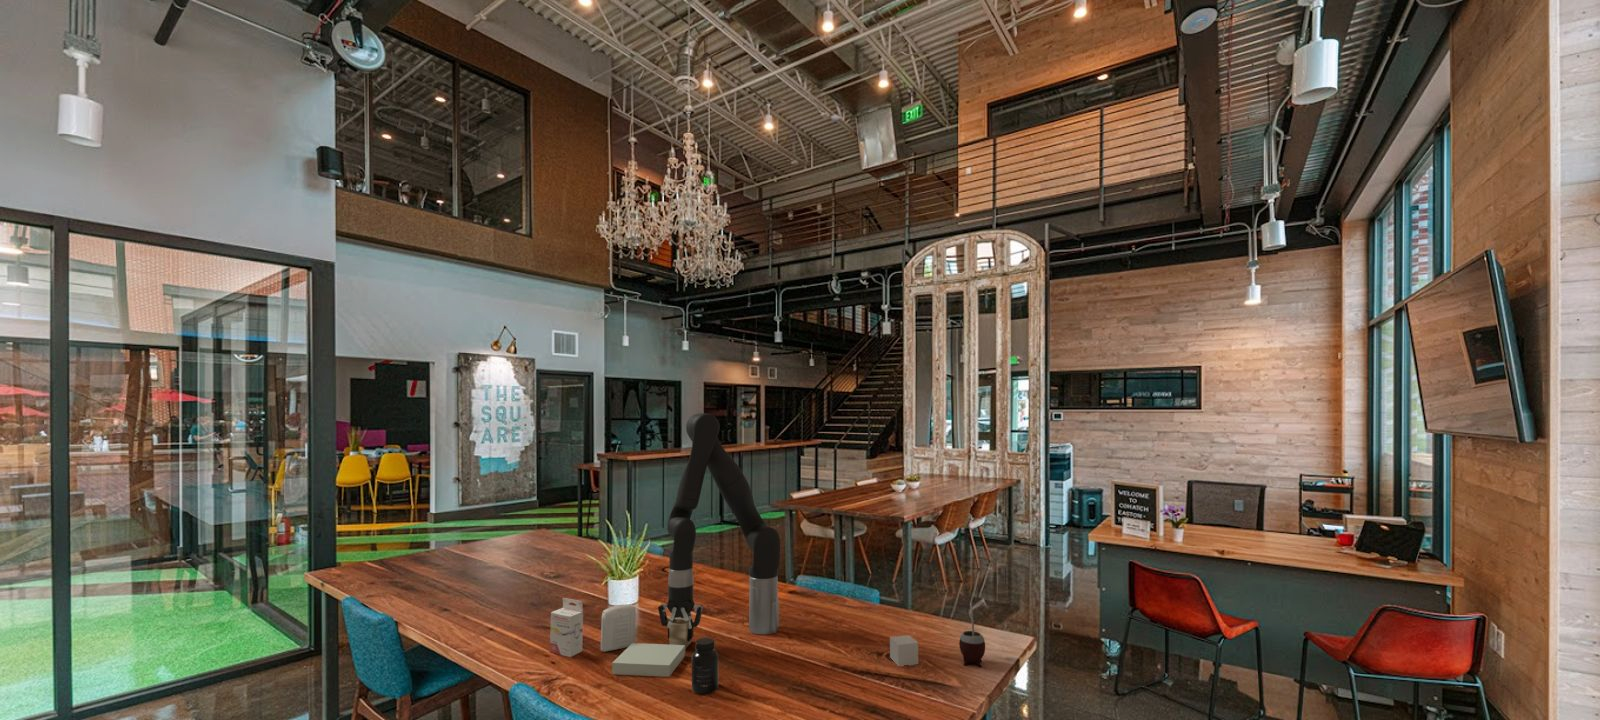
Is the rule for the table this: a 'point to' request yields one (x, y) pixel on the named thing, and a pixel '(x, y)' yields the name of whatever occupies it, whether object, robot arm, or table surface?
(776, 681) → the table surface
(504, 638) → the table surface
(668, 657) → the base plate
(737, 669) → the table surface
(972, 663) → the mate gourd
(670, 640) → the birch block
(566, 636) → the ink cartridge box
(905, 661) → the grey cube
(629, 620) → the photo printer
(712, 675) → the supplement bottle
